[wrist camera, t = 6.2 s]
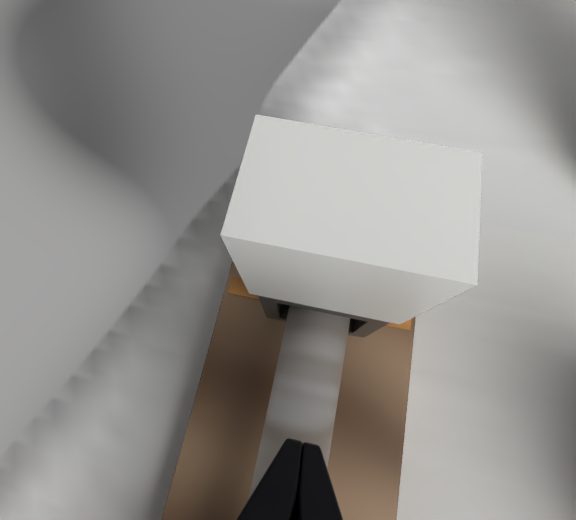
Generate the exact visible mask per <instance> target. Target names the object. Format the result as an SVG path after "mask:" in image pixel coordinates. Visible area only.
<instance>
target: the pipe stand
mask: <svg viewBox="0 0 576 520" xmlns="http://www.w3.org/2000/svg"><path fill="white" fill-rule="evenodd" d="M349 324H350V318H348V317H343V316H338V315H333V314H328V313H323V312H319V311H314V310H309V309H304V308H299V307H294V306H289V310H288V315H287V320H286V321H281V320H276V319H271V318H267V317H266V315H265V312H264V310H263V307H262V305H261V302H260V300H259V297H258V295H254V294H249V292H248V290H247V288H246V286H245V284H244V282H243V280H242V278H241V276H240V274H239V272H238V270H237V268H236V266H235V264H234V262H232V266H231V269H230V273H229V277H228V280H227V284H226V288H225V291H224V295H223V299H222V302H221V306H220V309H219V313H218V317H217V320H216V324H215V328H214V331H213V335H212V338H211V342H210V346H209V349H208V353H207V357H206V360H205V364H204V368H203V371H202V375H201V378H200V382H199V386H198V389H197V393H196V397H195V400H194V404H193V408H192V411H191V415H190V418H189V422H188V426H187V429H186V433H185V437H184V440H183V444H182V447H181V451H180V455H179V458H178V462H177V466H176V469H175V473H174V477H173V480H172V484H171V487H170V491H169V495H168V498H167V502H166V506H165V509H164V513H163V516H162V520H236V519H237V517H238V516H239V514H240V513H241V511H242V509H243V508H244V506H245V504H246V503H247V501H248V500H249V498H250V496H251V495H252V493H253V491H254V490H255V488H256V487H257V485H258V483H259V482H260V480H261V479H262V477H263V475H264V474H265V472H266V470H267V469H268V467H269V466H270V464H271V462H272V461H273V459H274V457H275V456H276V454H277V453H278V451H279V449H280V448H281V446H282V445H283V443H284V441H285V440H286V439H287V438H291V439H295V440H300V441H301V442H302V443H304V442H308V443H313V444H317V445H319V446H320V448H321V450H322V453H323V457H324V460H325V463H326V466H327V469H328V473H329V476H330V479H331V482H332V485H333V489H334V492H335V495H336V498H337V501H338V505H339V508H340V511H341V514H342V517H343V520H396V517H397V506H398V496H399V485H400V475H401V464H402V454H403V443H404V433H405V422H406V411H407V401H408V390H409V380H410V369H411V359H412V348H413V337H414V327H415V317H414V318H412V319H410V320H408V321H406V322H404V323H402V324H400V325H399V324H395V323H389V324H387V325H385V326H384V327H382V328H380V329H378V330H377V331H375V332H373V333H371V334H370V335H368V336H366V337H364V338H362V337H357V336H352V335H348V331H349Z"/></svg>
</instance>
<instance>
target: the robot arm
mask: <svg viewBox="0 0 576 520" xmlns="http://www.w3.org/2000/svg"><path fill="white" fill-rule="evenodd" d="M236 520H343V517H342V514H341V511H340V508H339V505H338V501H337V498H336V495H335V492H334V489H333V485H332V482H331V479H330V476H329V473H328V469H327V466H326V463H325V460H324V457H323V453H322V450H321V448H320V446H319V445H317V444H313V443H308V442H304V443H302V442H301V441H300V440H295V439H291V438H287V439H286V440H285V441H284V443H283V445H282V446H281V448H280V449H279V451H278V453H277V454H276V456H275V457H274V459H273V461H272V462H271V464H270V466H269V467H268V469H267V470H266V472H265V474H264V475H263V477H262V479H261V480H260V482H259V483H258V485H257V487H256V488H255V490H254V491H253V493H252V495H251V496H250V498H249V500H248V501H247V503H246V504H245V506H244V508H243V509H242V511H241V513H240V514H239V516H238V517H237V519H236Z"/></svg>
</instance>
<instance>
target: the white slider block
mask: <svg viewBox="0 0 576 520" xmlns="http://www.w3.org/2000/svg"><path fill="white" fill-rule="evenodd" d="M482 157H483V152H479V151H473V150H467V149H461V148H455V147H449V146H443V145H437V144H431V143H425V142H419V141H413V140H407V139H401V138H395V137H389V136H383V135H377V134H371V133H365V132H359V131H353V130H347V129H341V128H335V127H329V126H323V125H317V124H311V123H305V122H299V121H293V120H287V119H281V118H274V117H268V116H262V115H256V116H255V119H254V122H253V126H252V129H251V133H250V136H249V140H248V143H247V147H246V149H245V153H244V156H243V160H242V163H241V166H240V170H239V173H238V177H237V180H236V183H235V187H234V190H233V194H232V197H231V200H230V204H229V207H228V211H227V214H226V217H225V221H224V224H223V228H222V231H221V234H220V236H221V238H222V240H223V242H224V244H225V246H226V248H227V250H228V252H229V254H230V256H231V258H232V260H233V262H234V264H235V266H236V268H237V270H238V272H239V274H240V276H241V278H242V280H243V282H244V284H245V286H246V288H247V290H248V292H249V294H254V295H258V297H259V300H260V302H261V305H262V307H263V310H264V312H265V315H266V317H267V318H271V319H276V320H281V321H286V320H287V315H288V310H289V306H294V307H299V308H304V309H309V310H314V311H319V312H323V313H328V314H333V315H338V316H343V317H348V318H350V324H349V331H348V335H352V336H357V337H362V338H364V337H366V336H368V335H370V334H371V333H373V332H375V331H377V330H378V329H380V328H382V327H384V326H385V325H387V324H389V323H395V324H399V325H400V324H402V323H404V322H406V321H408V320H410V319H412V318H414V317H415V316H417V315H419V314H421V313H423V312H425V311H427V310H429V309H431V308H433V307H435V306H437V305H439V304H441V303H443V302H445V301H447V300H449V299H451V298H453V297H455V296H457V295H459V294H461V293H463V292H465V291H467V290H469V289H471V288H473V287H475V286H477V284H478V259H479V233H480V208H481V182H482Z"/></svg>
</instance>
